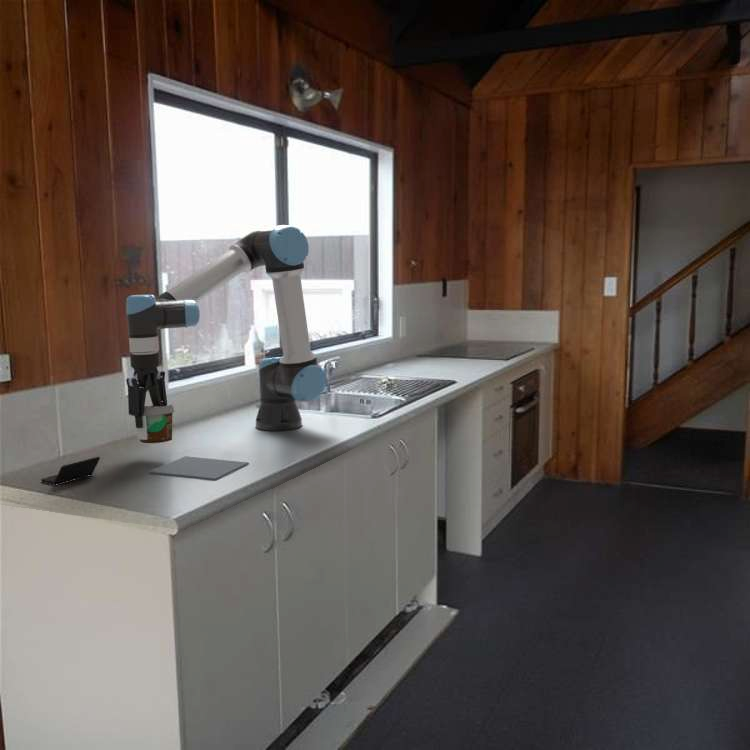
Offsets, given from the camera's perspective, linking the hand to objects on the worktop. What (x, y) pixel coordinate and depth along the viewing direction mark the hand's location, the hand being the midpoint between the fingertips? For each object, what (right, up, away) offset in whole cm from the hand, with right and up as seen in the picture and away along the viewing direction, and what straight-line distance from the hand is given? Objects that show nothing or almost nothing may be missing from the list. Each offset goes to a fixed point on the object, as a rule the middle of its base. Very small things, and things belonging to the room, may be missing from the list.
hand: (150, 436), depth 203 cm
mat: (+15, -8, -8) cm, 19 cm away
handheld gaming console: (-15, -10, -17) cm, 25 cm away
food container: (0, -2, 0) cm, 2 cm away
